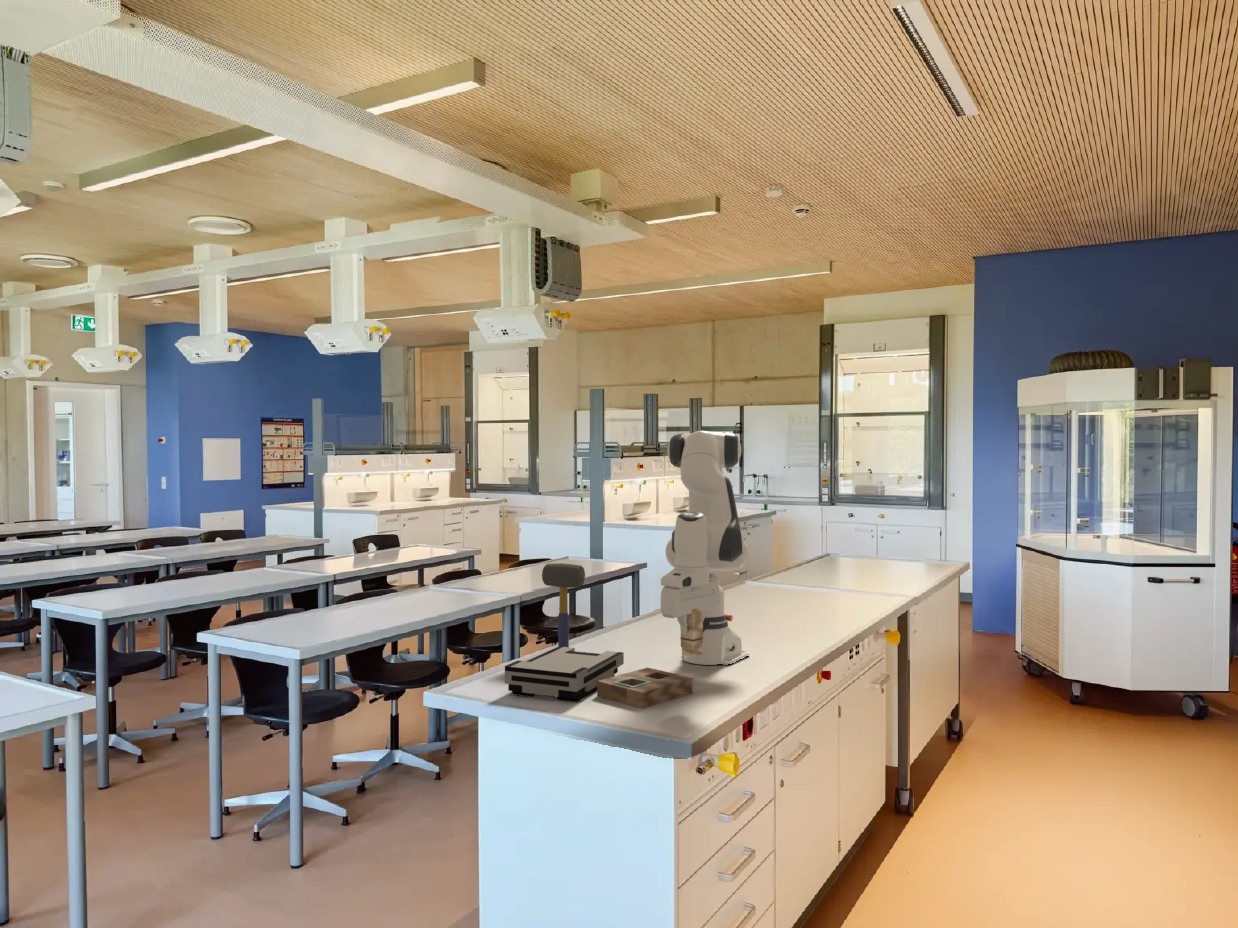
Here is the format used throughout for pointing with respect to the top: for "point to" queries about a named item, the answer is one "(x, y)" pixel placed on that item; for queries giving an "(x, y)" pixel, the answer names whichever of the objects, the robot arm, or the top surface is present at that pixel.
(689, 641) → the peg
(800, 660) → the top surface
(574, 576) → the rubber mallet
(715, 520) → the robot arm
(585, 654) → the game console
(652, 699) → the board
